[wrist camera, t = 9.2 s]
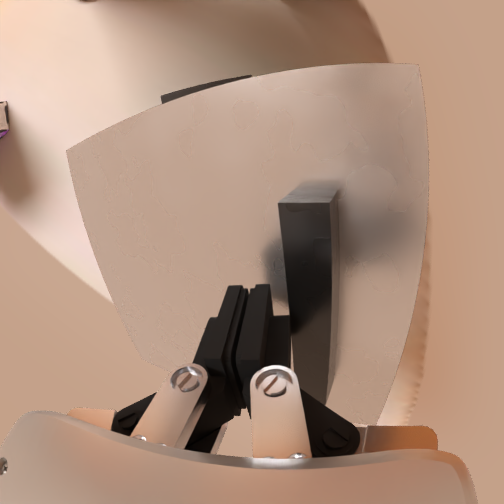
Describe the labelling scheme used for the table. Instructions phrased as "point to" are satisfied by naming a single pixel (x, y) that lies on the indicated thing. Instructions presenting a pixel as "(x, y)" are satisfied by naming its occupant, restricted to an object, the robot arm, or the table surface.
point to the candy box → (3, 119)
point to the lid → (270, 218)
